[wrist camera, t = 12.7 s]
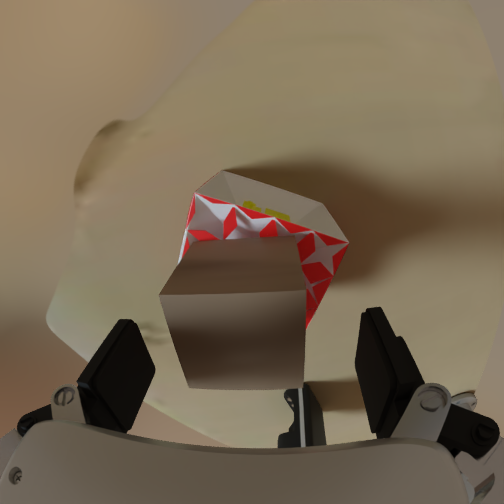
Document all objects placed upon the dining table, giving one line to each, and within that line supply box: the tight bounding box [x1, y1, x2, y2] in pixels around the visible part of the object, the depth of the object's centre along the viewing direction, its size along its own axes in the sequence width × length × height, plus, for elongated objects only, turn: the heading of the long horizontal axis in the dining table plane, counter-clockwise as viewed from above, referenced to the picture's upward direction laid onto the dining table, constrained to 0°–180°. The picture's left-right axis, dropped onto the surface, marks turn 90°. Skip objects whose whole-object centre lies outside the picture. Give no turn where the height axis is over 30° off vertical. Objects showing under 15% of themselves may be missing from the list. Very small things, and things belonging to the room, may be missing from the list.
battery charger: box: [278, 384, 326, 448], centre depth 25 cm, size 7×4×11 cm, turn 25°
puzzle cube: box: [178, 170, 349, 329], centre depth 18 cm, size 8×8×8 cm
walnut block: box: [159, 235, 306, 390], centre depth 12 cm, size 5×5×5 cm
